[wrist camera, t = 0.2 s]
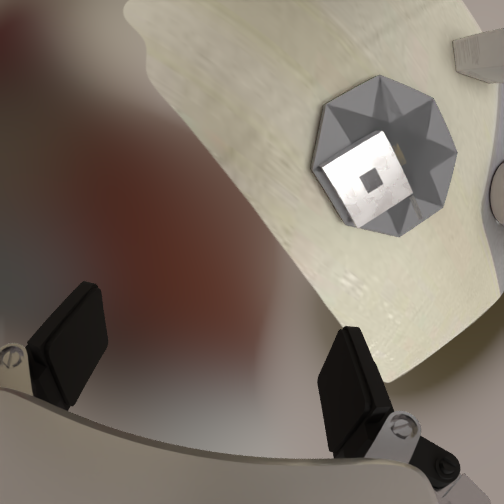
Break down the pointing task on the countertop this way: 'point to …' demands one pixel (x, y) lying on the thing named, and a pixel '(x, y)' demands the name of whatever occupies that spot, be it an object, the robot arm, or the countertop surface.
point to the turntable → (401, 140)
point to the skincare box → (481, 56)
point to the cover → (367, 178)
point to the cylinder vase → (498, 194)
